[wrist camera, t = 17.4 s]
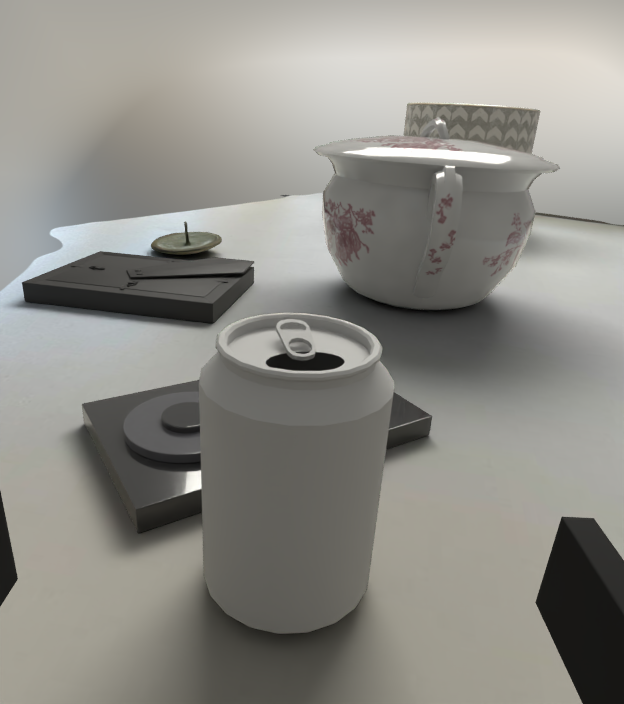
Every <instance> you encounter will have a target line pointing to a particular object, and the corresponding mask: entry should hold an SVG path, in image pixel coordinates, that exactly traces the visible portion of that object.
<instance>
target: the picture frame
mask: <svg viewBox="0 0 624 704" xmlns="http://www.w3.org/2000/svg"><path fill="white" fill-rule="evenodd" d="M253 263H254V261H246V260H236V259H226V258H216V257H215V258H208V259H200V260H193V261H190V260H180V259H170V258H160V257H151V256H141V255H131V254H121V253H111V252H102V251H100V252H97V253H95V254H92V255H90V256H87V257H85V258H82V259H80V260H77V261H75V262H72V263H70V264H67V265H65V266H62V267H60V268H57V269H55V270H52V271H50V272H47V273H45V274H42V275H40V276H37V277H35V278H32V279H30V280H27V281H25V282H22V285H23V291H24V298H25V301H26V302H35V303H43V304H52V305H60V306H69V307H77V308H86V309H94V310H103V311H112V312H120V313H129V314H137V315H146V316H154V317H163V318H171V319H180V320H189V321H197V322H206V323H214V322H215V321H216V320H217V319H218V318H219V317H220V316H221V315H222V314H223V313H224V312H225V311H226V310H227V309H228V308H229V307H230V306H231V305H232V304H233V303H234V302H235V301H236V300H237V299H238V298H239V297H240V296H241V295H242V294H243V293H244V292H245V291H246V290H247V289H248V288H249V287H250V286H251V285H252V284H253V283H254V267H250V266H251V265H252V264H253Z"/></svg>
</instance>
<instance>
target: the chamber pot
mask: <svg viewBox="0 0 624 704" xmlns="http://www.w3.org/2000/svg"><path fill="white" fill-rule="evenodd" d="M435 129H437V132H438V134H439V136H440V138H439V137H429V136H430V134H431V133H432V132H433V131H434V130H435ZM314 151H315V152H316V153H317V154H318V155H320V156H325V157H328V158H329V160H330V161H331V162H332V164H333V168H334V171H335V174H334V175H333V177H332V179H331V180H330V182H329V183H328V185H327V187H326V188H325V190H324V192H323V206H322V216H323V224H324V232H325V240H326V245H327V247H328V250H329V252H330V254H331V256H332V258H333V260H334V262H335V264H336V266H337V268H338V270H339V272H340V274H341V276H342V278H343V280H344V281H345V283H346V284H347V285H348V286H349V287H350V288H351V289H353V290H354V291H356V292H357V293H359V294H361V295H363V296H366V297H368V298H370V299H372V300H375V301H378V302H380V303H383V304H386V305H391V306H395V307H399V308H406V309H413V310H429V311H437V310H449V309H455V308H461V307H465V306H469V305H473V304H477V303H478V302H480V301H481V300H483V299H484V298H485V297H487V296H488V295H489V294H490V293H492V291H493V290H494V289H495V288H496V287H497V286H498V285H499V284H500V283H501V282H502V281H503V280H504V279H505V277H506V276H507V275H508V274H509V273H510V272H511V271H512V270H513V269H514V268H515V267H516V266H517V263H518V261H519V259H520V257H521V254H522V252H523V250H524V248H525V245H526V243H527V241H528V239H529V236H530V234H531V229H532V225H533V220H534V216H535V209H534V206H533V203H532V199H531V196H530V193H529V190H528V189H529V187H530V186H531V184H532V183H533V181H534V180H535V179H536V178H537V177H538V176H540V175H541V174H542V173H551V172H555V171H557V170H558V169H560V168H559V166H558V165H557V164H554V163H551V162H549V161H546V160H544V159H543V158H542V157H539V156H535V155H532V154H529V153H526V152H522V151H519V150H515V149H511V148H506V147H502V146H497V145H493V144H489V143H484V142H480V141H470V140H459V139H450V137H449V134H448V131H447V127H446V124H445V121H444V120H443V119H440V118H439V117H437V118H435V119H433V120H431V121H430V122H429V123H428V124H427V125H426V127H425V128H424V129H423V131H422V133H421V135H420V136H394V135H392V136H391V135H390V136H380V137H369V138H368V137H367V138H356V139H348V140H341V141H335V142H330V143H329V144H326V145H321V146H317V147H315V149H314Z"/></svg>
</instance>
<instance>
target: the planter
mask: <svg viewBox="0 0 624 704" xmlns="http://www.w3.org/2000/svg"><path fill="white" fill-rule="evenodd" d="M539 115H540V110H536V109H529V108H519V107H508V106H493V105H478V104H457V103H408V104H407V111H406V120H405V128H404V136H420V135H421V133H422V131H423V129H424V128H425V127H426V125H427V124H428V123H429V122H430V121H431V120H433V119H435V118H437V117H439V118H440V119H443V120H444V121H445V124H446V127H447V131H448V134H449V137H450V139H459V140H470V141H480V142H484V143H489V144H493V145H497V146H502V147H506V148H511V149H515V150H519V151H522V152H526V153H529V154H532V149H533V144H534V139H535V134H536V130H537V124H538V120H539ZM429 137H439V138H440V136H439V134H438V132H437V129H435V130H434V131H433V132H432V133H431V134H430V136H429Z"/></svg>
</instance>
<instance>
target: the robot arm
mask: <svg viewBox="0 0 624 704" xmlns="http://www.w3.org/2000/svg"><path fill="white" fill-rule="evenodd" d="M17 579H18V578H17V573H16V568H15V562H14V557H13V552H12V547H11V542H10V537H9V532H8V527H7V522H6V517H5V512H4V507H3V502H2V497H1V492H0V606H1V605H2V603H3V601H4V600H5V598H6V597H7V595H8V594H9V592H10V590H11V589H12V587H13V586H14V584H15V583H16V581H17ZM536 605H537V607H538V609H539V611H540V613H541V615H542V617H543V619H544V622H545V624H546V626H547V628H548V630H549V632H550V634H551V637H552V639H553V641H554V643H555V645H556V647H557V649H558V652H559V654H560V656H561V658H562V660H563V662H564V664H565V667H566V669H567V671H568V673H569V675H570V677H571V679H572V682H573V684H574V686H575V688H576V690H577V692H578V694H579V697H580V699H581V701H582V703H583V704H624V560H623V559H622V557H621V556H620V555H619V553H618V552H617V550H616V549H615V548H614V546H613V545H612V543H611V542H610V541H609V539H608V538H607V536H606V535H605V534H604V532H603V531H602V529H601V528H600V527H599V525H598V524H597V522H596V521H595V520H594V518H576V517H562V518H561V521H560V524H559V528H558V531H557V534H556V537H555V541H554V544H553V547H552V551H551V554H550V557H549V560H548V564H547V567H546V570H545V573H544V577H543V580H542V583H541V586H540V590H539V593H538V596H537V600H536Z"/></svg>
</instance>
